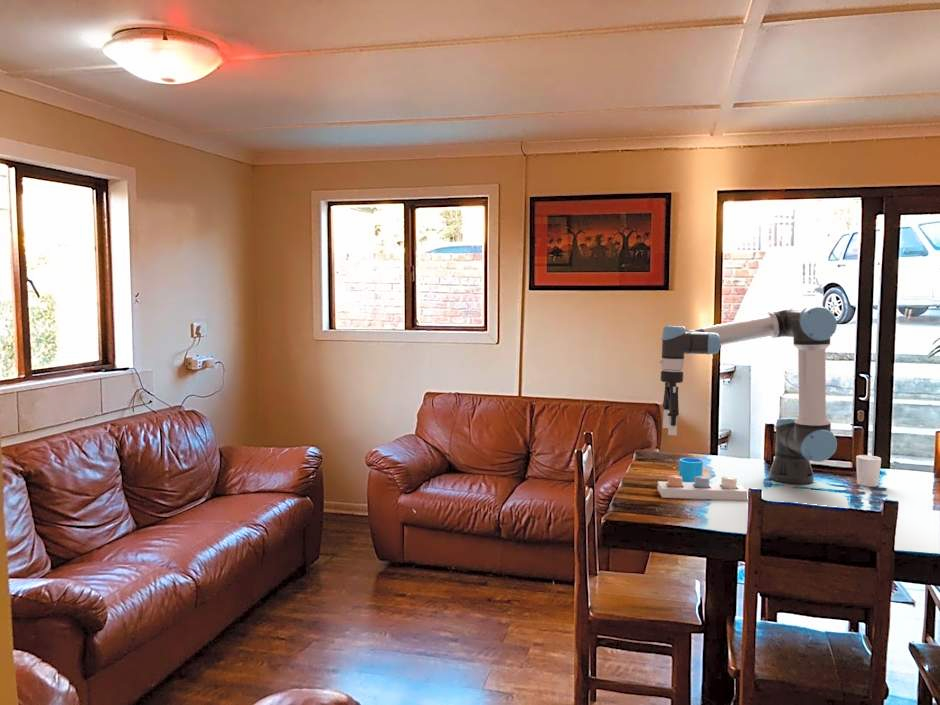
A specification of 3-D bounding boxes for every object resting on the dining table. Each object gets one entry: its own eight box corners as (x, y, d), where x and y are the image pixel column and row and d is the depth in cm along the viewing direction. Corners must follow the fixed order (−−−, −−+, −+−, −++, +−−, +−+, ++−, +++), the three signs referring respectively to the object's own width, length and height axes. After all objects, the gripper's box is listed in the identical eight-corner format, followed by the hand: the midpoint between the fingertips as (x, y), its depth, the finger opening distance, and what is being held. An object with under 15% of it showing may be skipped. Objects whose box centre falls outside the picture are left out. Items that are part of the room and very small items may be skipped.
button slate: (707, 487, 253) (707, 476, 253) (710, 491, 248) (710, 479, 248) (693, 487, 253) (693, 475, 253) (695, 490, 249) (696, 479, 248)
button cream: (734, 488, 252) (734, 476, 252) (737, 491, 247) (738, 480, 247) (719, 487, 253) (720, 476, 252) (723, 491, 248) (723, 479, 247)
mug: (706, 484, 265) (707, 462, 264) (686, 485, 263) (686, 463, 262) (688, 476, 277) (689, 455, 276) (669, 477, 275) (669, 456, 274)
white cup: (878, 483, 268) (880, 456, 267) (880, 488, 260) (882, 460, 260) (854, 480, 271) (855, 454, 270) (855, 485, 264) (857, 458, 263)
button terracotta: (680, 486, 254) (680, 475, 254) (683, 490, 249) (683, 478, 249) (666, 486, 254) (666, 474, 254) (668, 489, 250) (669, 478, 249)
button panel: (739, 492, 255) (740, 483, 254) (747, 500, 245) (748, 491, 244) (657, 489, 257) (657, 481, 257) (662, 497, 247) (662, 488, 247)
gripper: (656, 366, 266) (654, 424, 268) (666, 373, 242) (663, 437, 243) (677, 367, 265) (675, 425, 267) (689, 374, 241) (686, 438, 242)
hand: (669, 431), depth 255 cm, fingers open, 13 cm apart
